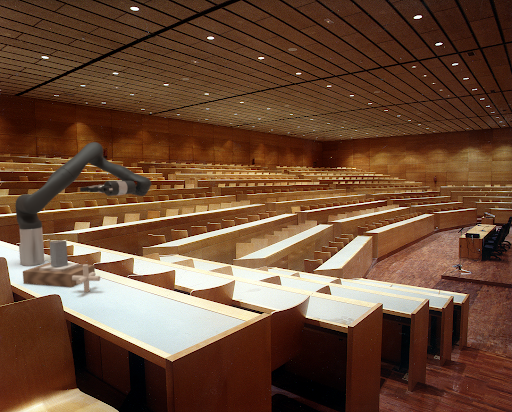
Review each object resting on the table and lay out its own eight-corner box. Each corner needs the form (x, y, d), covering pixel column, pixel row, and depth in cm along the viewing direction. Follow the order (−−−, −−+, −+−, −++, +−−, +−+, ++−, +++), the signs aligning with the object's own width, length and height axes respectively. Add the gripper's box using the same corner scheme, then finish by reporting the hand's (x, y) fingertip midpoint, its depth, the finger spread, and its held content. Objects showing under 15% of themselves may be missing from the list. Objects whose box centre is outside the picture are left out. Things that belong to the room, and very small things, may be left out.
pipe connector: (106, 287, 143) (105, 261, 142) (92, 296, 133) (91, 268, 132) (81, 286, 144) (80, 261, 143) (66, 295, 134) (64, 268, 133)
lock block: (51, 265, 152) (49, 241, 151) (62, 263, 156) (60, 239, 155) (56, 267, 149) (54, 242, 148) (67, 265, 153) (66, 241, 152)
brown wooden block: (23, 283, 149) (22, 268, 148) (50, 273, 162) (49, 260, 162) (71, 287, 144) (70, 271, 143) (94, 276, 157) (94, 262, 157)
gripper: (107, 180, 195) (76, 181, 182) (123, 181, 187) (92, 182, 174) (108, 194, 196) (77, 197, 183) (124, 196, 187) (93, 198, 175)
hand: (85, 189), depth 178 cm, fingers open, 8 cm apart
